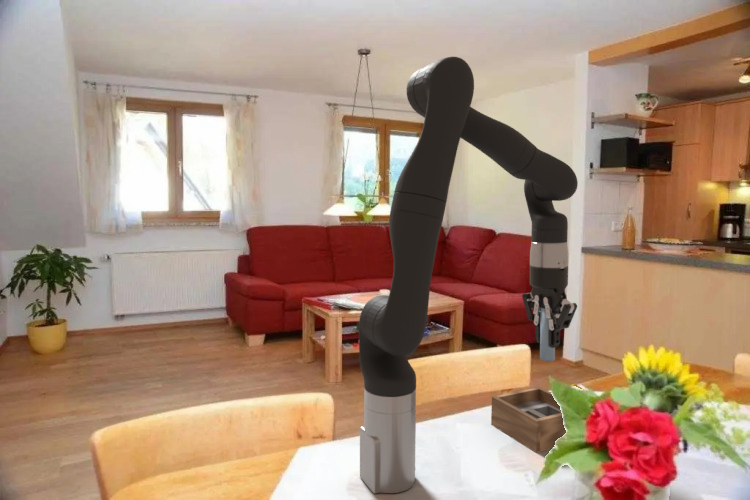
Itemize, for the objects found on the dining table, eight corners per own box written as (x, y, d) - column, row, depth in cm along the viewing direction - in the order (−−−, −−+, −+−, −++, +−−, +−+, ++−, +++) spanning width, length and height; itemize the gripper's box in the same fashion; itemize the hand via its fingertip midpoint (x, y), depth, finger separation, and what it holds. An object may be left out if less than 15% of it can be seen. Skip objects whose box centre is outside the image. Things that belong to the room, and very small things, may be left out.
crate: (535, 452, 100) (537, 421, 100) (491, 424, 113) (491, 396, 112) (586, 438, 106) (587, 409, 106) (538, 413, 119) (539, 386, 118)
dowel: (547, 362, 104) (547, 310, 102) (536, 357, 106) (537, 307, 105) (557, 359, 105) (558, 308, 104) (547, 355, 108) (548, 305, 106)
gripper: (511, 261, 108) (511, 338, 110) (560, 269, 96) (559, 357, 97) (538, 258, 111) (537, 334, 113) (589, 266, 99) (587, 351, 101)
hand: (547, 344), depth 105 cm, fingers closed on dowel, 3 cm apart
